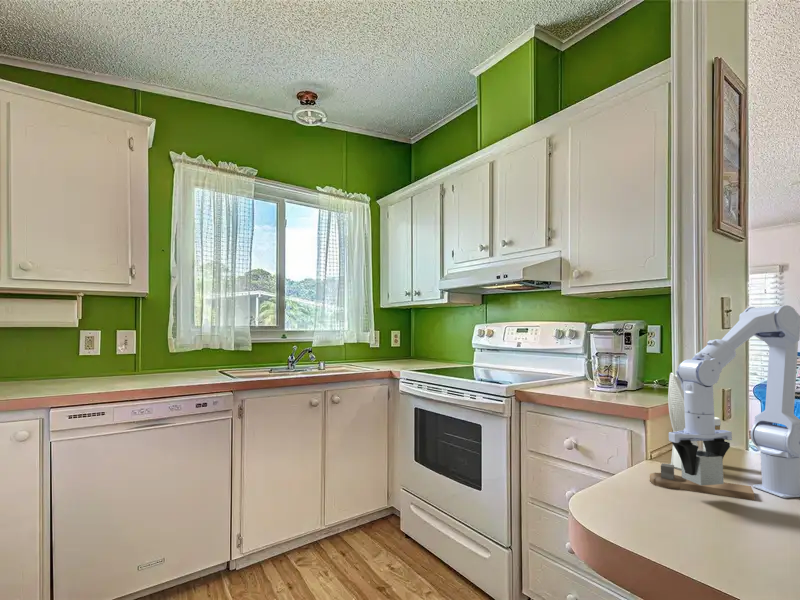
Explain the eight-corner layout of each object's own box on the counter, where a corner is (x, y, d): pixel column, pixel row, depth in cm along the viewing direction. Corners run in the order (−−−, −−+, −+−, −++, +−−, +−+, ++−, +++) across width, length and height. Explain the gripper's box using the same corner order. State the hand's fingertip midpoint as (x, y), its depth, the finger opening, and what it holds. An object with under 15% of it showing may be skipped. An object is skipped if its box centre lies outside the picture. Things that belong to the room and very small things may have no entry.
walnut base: (750, 491, 110) (749, 472, 111) (755, 502, 103) (754, 481, 104) (650, 476, 121) (650, 459, 121) (648, 485, 114) (648, 466, 115)
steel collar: (703, 476, 108) (702, 449, 108) (723, 484, 102) (722, 456, 103) (681, 477, 107) (680, 451, 107) (701, 485, 101) (699, 457, 102)
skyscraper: (711, 471, 126) (707, 367, 128) (691, 474, 123) (687, 368, 125) (682, 463, 134) (678, 365, 135) (662, 466, 130) (659, 366, 132)
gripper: (712, 408, 111) (715, 466, 110) (658, 410, 108) (660, 469, 108) (738, 413, 104) (741, 475, 103) (680, 415, 101) (683, 479, 101)
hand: (702, 473), depth 105 cm, fingers closed on steel collar, 6 cm apart
